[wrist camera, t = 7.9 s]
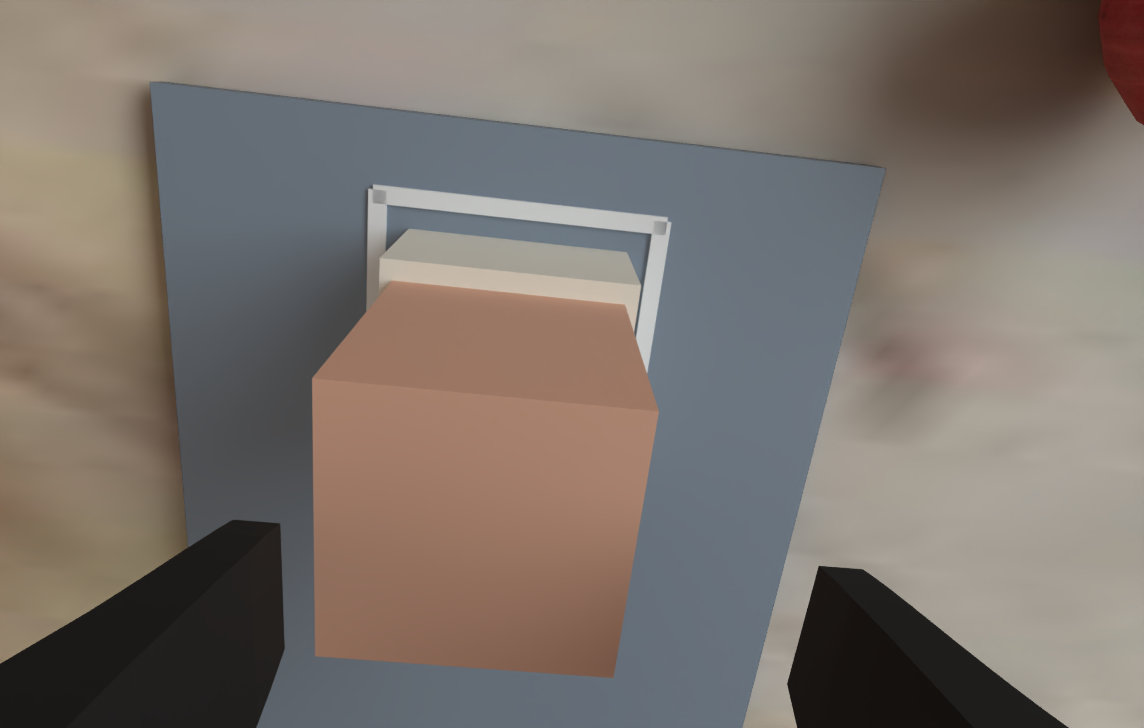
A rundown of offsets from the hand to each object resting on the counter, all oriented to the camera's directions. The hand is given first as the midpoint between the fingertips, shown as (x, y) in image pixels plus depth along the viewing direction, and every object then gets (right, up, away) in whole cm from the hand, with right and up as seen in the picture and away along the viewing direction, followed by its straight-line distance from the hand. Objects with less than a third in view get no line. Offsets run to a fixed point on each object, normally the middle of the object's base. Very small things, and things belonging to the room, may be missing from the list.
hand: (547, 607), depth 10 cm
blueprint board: (-2, -1, +10) cm, 10 cm away
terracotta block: (-1, +3, +5) cm, 6 cm away
